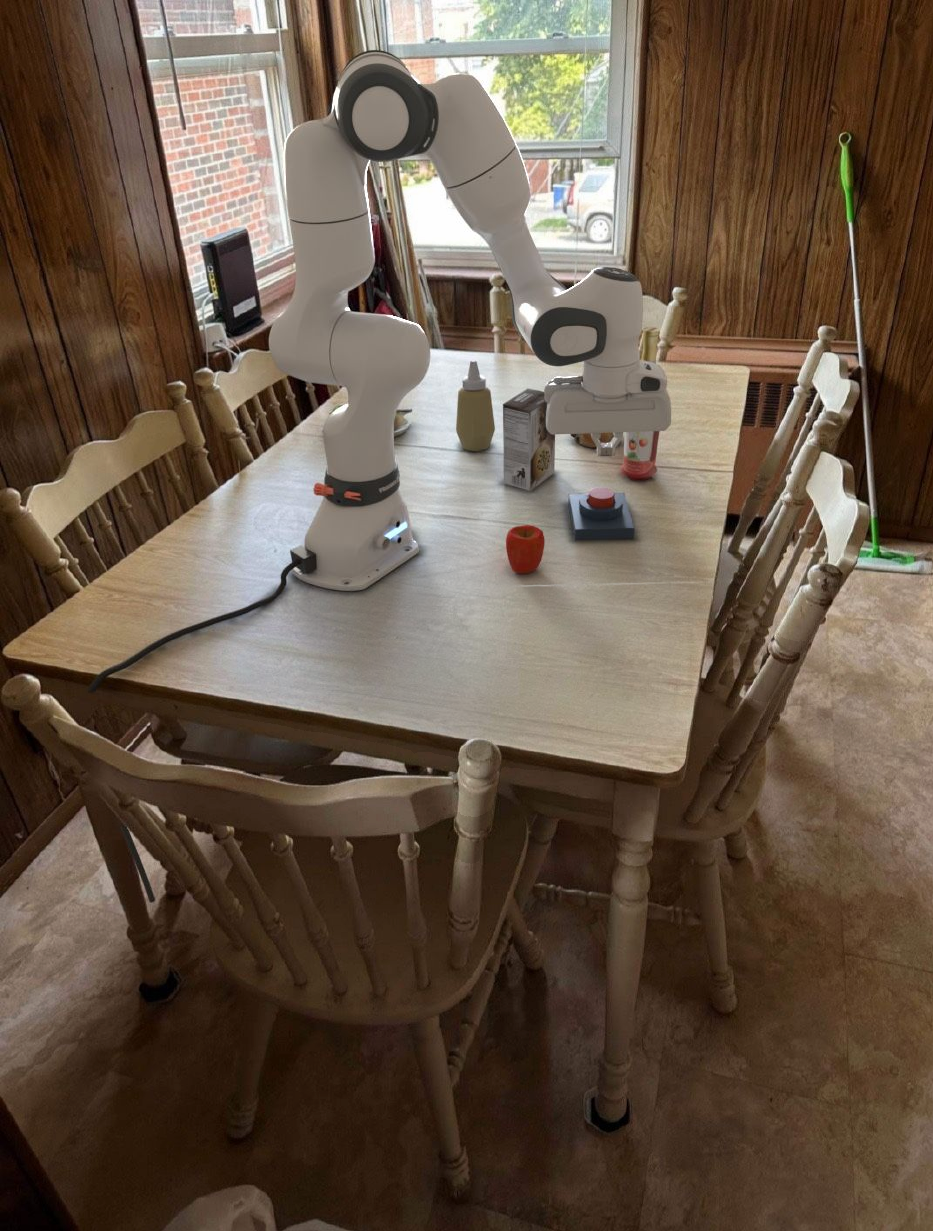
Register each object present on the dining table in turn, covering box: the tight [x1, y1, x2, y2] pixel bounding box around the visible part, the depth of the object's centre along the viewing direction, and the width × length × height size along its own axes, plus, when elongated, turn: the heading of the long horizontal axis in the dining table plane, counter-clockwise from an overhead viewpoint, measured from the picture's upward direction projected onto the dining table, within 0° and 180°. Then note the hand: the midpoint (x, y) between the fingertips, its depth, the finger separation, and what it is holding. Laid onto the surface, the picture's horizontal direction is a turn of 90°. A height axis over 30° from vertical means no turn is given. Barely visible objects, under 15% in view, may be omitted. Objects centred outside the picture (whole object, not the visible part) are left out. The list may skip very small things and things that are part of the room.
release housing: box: [568, 492, 636, 541], centre depth 154 cm, size 13×10×4 cm
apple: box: [505, 524, 546, 575], centre depth 141 cm, size 6×6×8 cm
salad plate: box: [328, 405, 413, 438], centre depth 191 cm, size 19×18×5 cm
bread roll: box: [570, 433, 614, 449], centre depth 182 cm, size 10×10×8 cm
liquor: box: [620, 326, 661, 482], centre depth 161 cm, size 7×7×28 cm
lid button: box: [588, 486, 615, 508], centre depth 152 cm, size 4×4×2 cm
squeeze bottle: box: [455, 359, 496, 452], centre depth 178 cm, size 8×8×18 cm
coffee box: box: [502, 388, 556, 492], centre depth 165 cm, size 9×6×16 cm
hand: (605, 454), depth 148 cm, fingers closed
